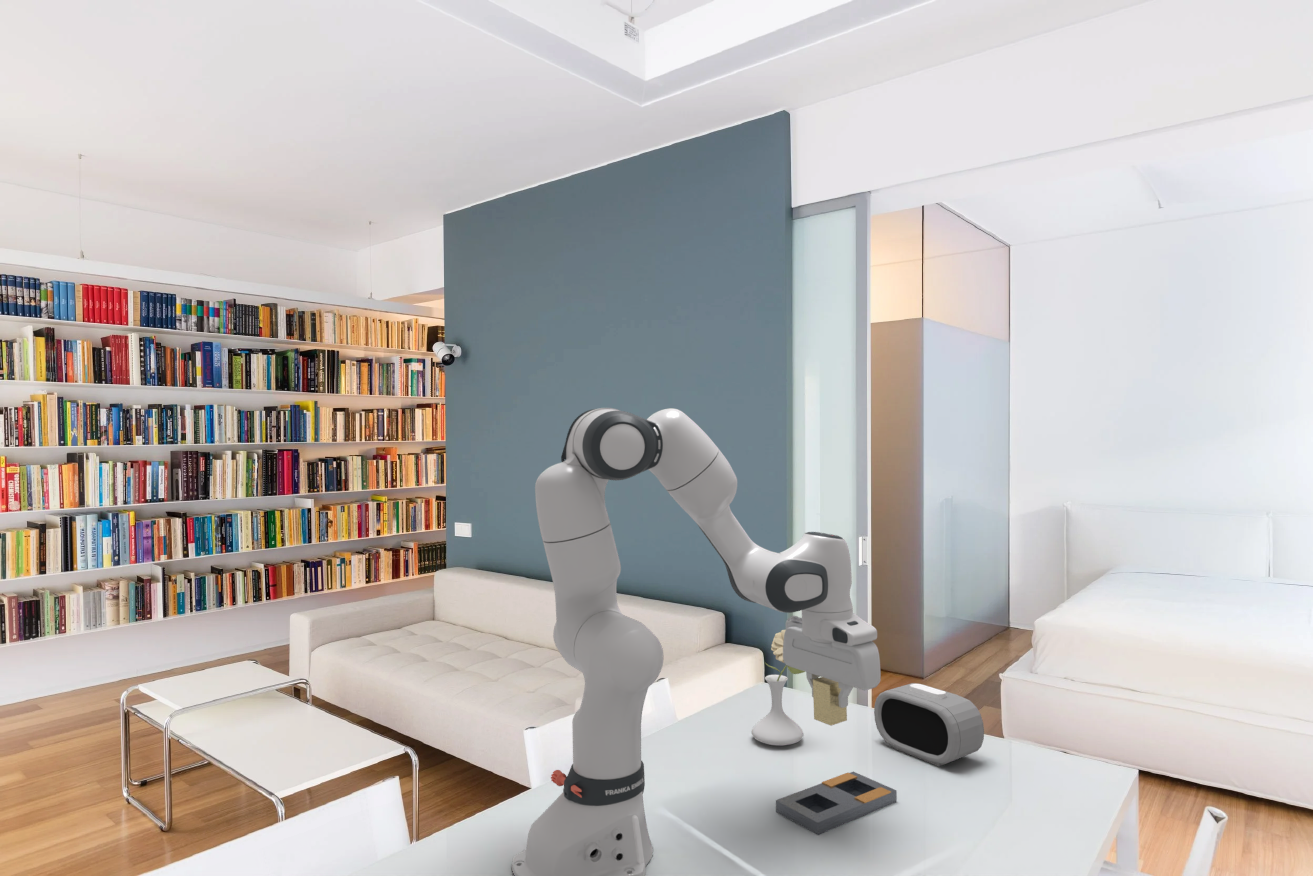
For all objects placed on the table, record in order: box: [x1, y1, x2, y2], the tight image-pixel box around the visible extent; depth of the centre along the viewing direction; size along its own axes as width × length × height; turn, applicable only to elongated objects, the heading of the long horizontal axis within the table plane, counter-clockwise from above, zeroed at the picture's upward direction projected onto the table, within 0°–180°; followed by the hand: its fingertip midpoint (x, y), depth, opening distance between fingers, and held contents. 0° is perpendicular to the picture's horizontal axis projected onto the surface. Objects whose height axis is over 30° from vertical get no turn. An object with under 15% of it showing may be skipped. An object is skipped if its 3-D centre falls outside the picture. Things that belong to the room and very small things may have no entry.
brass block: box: [812, 677, 848, 727], centre depth 136 cm, size 4×4×7 cm
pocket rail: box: [775, 771, 898, 836], centre depth 137 cm, size 20×10×3 cm, turn 124°
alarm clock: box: [873, 682, 985, 767], centre depth 163 cm, size 21×10×13 cm, turn 33°
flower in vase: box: [751, 629, 806, 746], centre depth 171 cm, size 13×11×25 cm
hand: (829, 702), depth 136 cm, fingers closed on brass block, 4 cm apart
